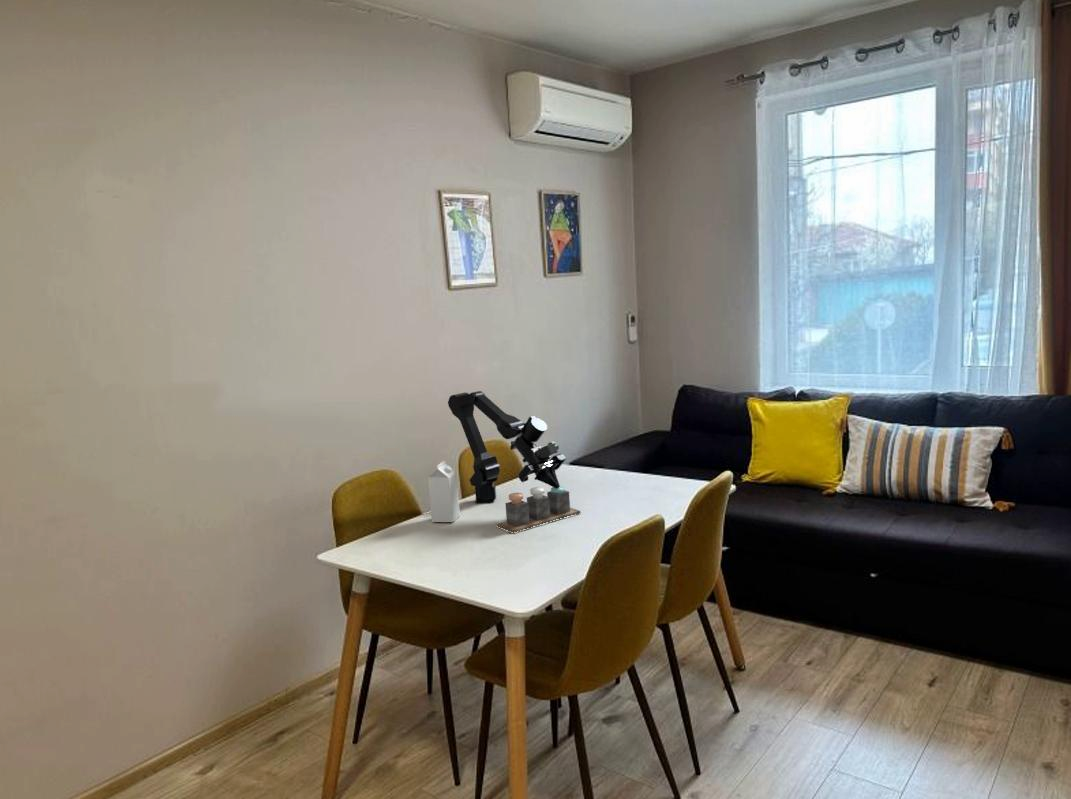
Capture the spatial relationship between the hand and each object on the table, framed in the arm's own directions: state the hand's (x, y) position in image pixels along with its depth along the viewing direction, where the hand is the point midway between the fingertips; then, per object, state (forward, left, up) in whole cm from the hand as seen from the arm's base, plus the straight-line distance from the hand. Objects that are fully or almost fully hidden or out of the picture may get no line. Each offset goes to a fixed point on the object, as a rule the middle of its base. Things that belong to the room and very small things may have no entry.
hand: (558, 487), depth 229 cm
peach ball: (-13, -10, -3) cm, 16 cm away
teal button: (0, 0, -4) cm, 4 cm away
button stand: (-6, -5, -9) cm, 12 cm away
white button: (-6, -5, -3) cm, 8 cm away
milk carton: (-37, 0, -9) cm, 38 cm away
